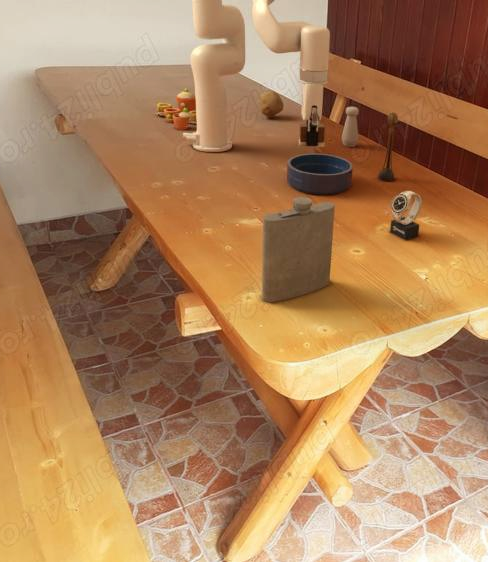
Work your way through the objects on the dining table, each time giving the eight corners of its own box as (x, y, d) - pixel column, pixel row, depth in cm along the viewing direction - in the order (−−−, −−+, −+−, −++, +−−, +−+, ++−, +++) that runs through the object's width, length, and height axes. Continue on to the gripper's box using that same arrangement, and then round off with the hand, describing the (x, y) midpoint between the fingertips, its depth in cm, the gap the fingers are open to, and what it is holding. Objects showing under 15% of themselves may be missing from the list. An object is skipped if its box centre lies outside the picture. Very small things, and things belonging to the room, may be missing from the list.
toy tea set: (151, 112, 239) (149, 86, 234) (192, 109, 246) (190, 84, 242) (173, 132, 220) (171, 103, 215) (216, 128, 227) (215, 100, 222)
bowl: (288, 195, 176) (289, 174, 173) (285, 172, 192) (286, 152, 190) (355, 196, 179) (356, 176, 176) (346, 173, 195) (348, 154, 192)
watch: (384, 233, 158) (388, 191, 153) (407, 226, 163) (412, 186, 158) (399, 242, 155) (405, 199, 149) (423, 234, 159) (429, 193, 154)
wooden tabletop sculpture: (398, 182, 192) (406, 115, 182) (384, 183, 190) (391, 116, 180) (389, 175, 196) (396, 110, 187) (375, 176, 194) (382, 110, 185)
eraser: (299, 146, 177) (300, 126, 175) (298, 142, 181) (299, 122, 178) (324, 147, 178) (325, 127, 176) (323, 142, 182) (324, 123, 179)
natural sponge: (284, 115, 248) (285, 89, 243) (280, 121, 240) (281, 95, 236) (261, 113, 249) (262, 87, 244) (256, 119, 241) (257, 92, 236)
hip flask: (323, 277, 137) (329, 188, 127) (335, 285, 134) (341, 195, 124) (259, 296, 128) (259, 203, 118) (270, 306, 125) (271, 211, 115)
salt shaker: (356, 148, 218) (359, 110, 211) (339, 146, 218) (342, 108, 212) (359, 144, 223) (362, 106, 216) (343, 141, 223) (345, 104, 217)
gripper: (297, 69, 177) (296, 134, 186) (301, 82, 163) (299, 152, 172) (324, 70, 178) (321, 135, 187) (331, 83, 164) (327, 152, 173)
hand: (311, 142), depth 179 cm, fingers closed on eraser, 4 cm apart
